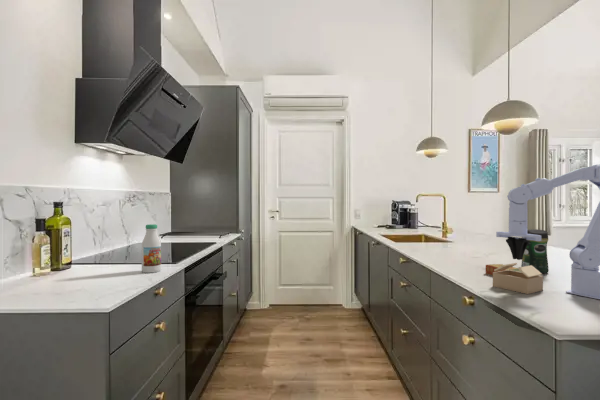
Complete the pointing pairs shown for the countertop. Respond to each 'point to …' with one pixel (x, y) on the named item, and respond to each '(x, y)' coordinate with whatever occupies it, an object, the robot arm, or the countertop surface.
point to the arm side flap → (529, 271)
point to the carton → (492, 267)
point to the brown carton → (517, 281)
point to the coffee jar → (536, 252)
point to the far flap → (505, 266)
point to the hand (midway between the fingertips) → (517, 259)
